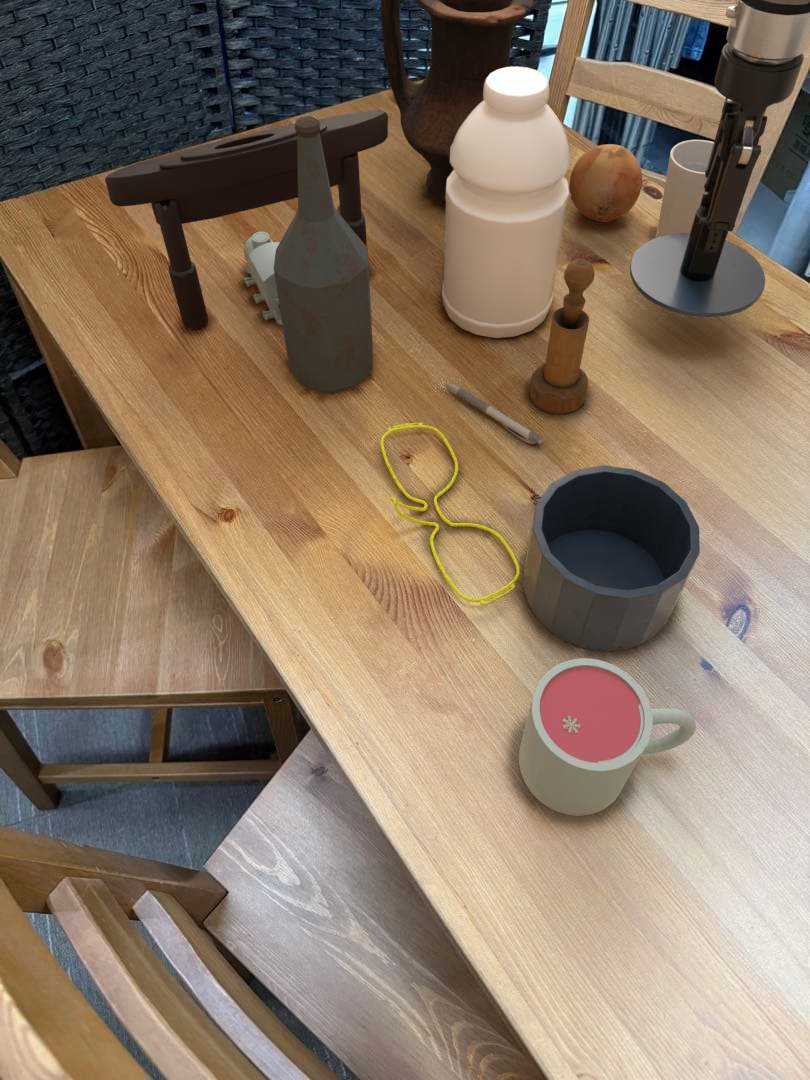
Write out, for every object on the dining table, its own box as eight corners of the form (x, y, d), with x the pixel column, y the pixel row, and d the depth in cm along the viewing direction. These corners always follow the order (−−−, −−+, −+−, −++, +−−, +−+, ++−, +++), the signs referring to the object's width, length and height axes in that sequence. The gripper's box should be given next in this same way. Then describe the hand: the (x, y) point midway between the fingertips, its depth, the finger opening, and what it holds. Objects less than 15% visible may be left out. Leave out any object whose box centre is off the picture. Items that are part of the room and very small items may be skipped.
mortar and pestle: (533, 371, 102) (552, 239, 87) (587, 378, 101) (616, 246, 87) (526, 410, 98) (545, 279, 84) (582, 418, 97) (612, 287, 83)
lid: (758, 247, 106) (781, 181, 99) (766, 328, 97) (793, 262, 90) (630, 235, 108) (644, 170, 101) (626, 314, 99) (641, 248, 92)
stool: (85, 134, 94) (361, 73, 102) (135, 291, 111) (368, 228, 119) (117, 209, 86) (415, 136, 94) (166, 366, 103) (415, 293, 111)
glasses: (533, 592, 83) (539, 565, 80) (440, 625, 81) (442, 598, 78) (433, 421, 97) (434, 390, 93) (351, 445, 95) (349, 415, 91)
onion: (626, 194, 124) (641, 126, 116) (640, 235, 118) (657, 166, 110) (560, 196, 124) (570, 128, 115) (570, 237, 118) (582, 168, 110)
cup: (643, 249, 116) (664, 166, 106) (655, 217, 120) (677, 134, 110) (702, 262, 114) (729, 179, 104) (713, 229, 118) (739, 146, 109)
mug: (526, 818, 70) (541, 774, 62) (512, 714, 76) (524, 661, 68) (690, 809, 71) (726, 764, 63) (665, 706, 76) (694, 652, 68)
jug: (536, 160, 129) (564, -72, 105) (518, 230, 119) (544, -9, 94) (401, 144, 132) (397, -84, 108) (371, 212, 122) (360, -25, 97)
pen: (538, 451, 94) (539, 442, 93) (443, 391, 100) (443, 382, 99) (543, 446, 95) (545, 437, 94) (448, 386, 101) (449, 377, 99)
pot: (673, 537, 87) (698, 477, 80) (673, 662, 79) (701, 609, 71) (530, 517, 89) (541, 456, 81) (515, 638, 80) (526, 583, 73)
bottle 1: (294, 338, 106) (258, 93, 82) (373, 337, 106) (361, 92, 82) (288, 397, 100) (248, 151, 75) (372, 396, 100) (359, 150, 75)
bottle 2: (515, 259, 115) (540, 37, 92) (572, 319, 107) (614, 94, 85) (422, 289, 111) (424, 66, 89) (474, 353, 104) (491, 128, 81)
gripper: (721, 7, 87) (668, 215, 105) (727, 87, 77) (668, 301, 95) (797, 11, 86) (731, 220, 104) (814, 93, 76) (737, 308, 94)
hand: (701, 259), depth 100 cm, fingers closed on lid, 4 cm apart
